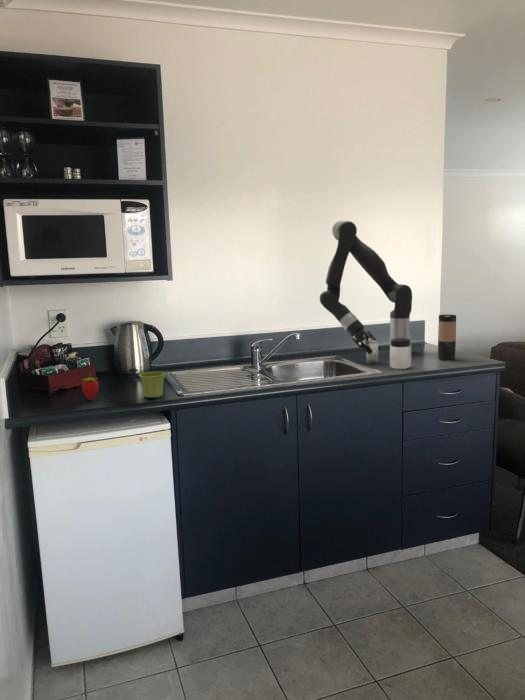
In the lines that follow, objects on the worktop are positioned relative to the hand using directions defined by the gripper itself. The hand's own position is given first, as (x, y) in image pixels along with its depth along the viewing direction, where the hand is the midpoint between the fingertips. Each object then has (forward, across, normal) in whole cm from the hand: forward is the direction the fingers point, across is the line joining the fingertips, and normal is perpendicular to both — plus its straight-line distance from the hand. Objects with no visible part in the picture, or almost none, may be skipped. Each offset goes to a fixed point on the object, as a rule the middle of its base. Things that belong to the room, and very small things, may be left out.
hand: (375, 351), depth 252 cm
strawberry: (-39, -108, +46) cm, 124 cm away
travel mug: (+21, +22, -14) cm, 34 cm away
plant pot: (-27, -93, +35) cm, 103 cm away
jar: (+13, -4, -6) cm, 15 cm away
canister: (+3, 0, +5) cm, 5 cm away
